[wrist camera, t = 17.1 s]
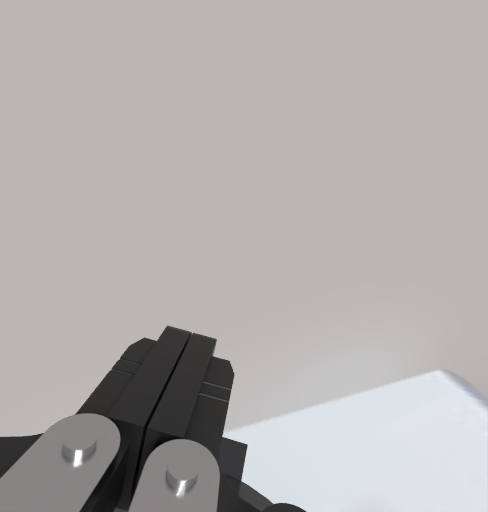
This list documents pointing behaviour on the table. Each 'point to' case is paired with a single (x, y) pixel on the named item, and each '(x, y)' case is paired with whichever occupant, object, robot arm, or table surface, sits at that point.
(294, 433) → the table surface
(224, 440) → the lid
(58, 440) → the robot arm
